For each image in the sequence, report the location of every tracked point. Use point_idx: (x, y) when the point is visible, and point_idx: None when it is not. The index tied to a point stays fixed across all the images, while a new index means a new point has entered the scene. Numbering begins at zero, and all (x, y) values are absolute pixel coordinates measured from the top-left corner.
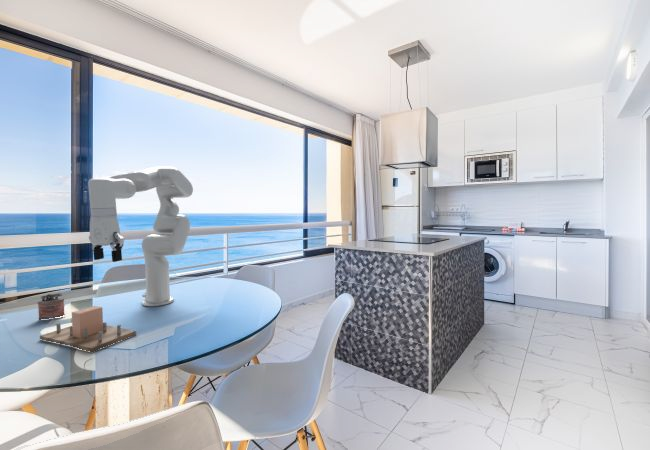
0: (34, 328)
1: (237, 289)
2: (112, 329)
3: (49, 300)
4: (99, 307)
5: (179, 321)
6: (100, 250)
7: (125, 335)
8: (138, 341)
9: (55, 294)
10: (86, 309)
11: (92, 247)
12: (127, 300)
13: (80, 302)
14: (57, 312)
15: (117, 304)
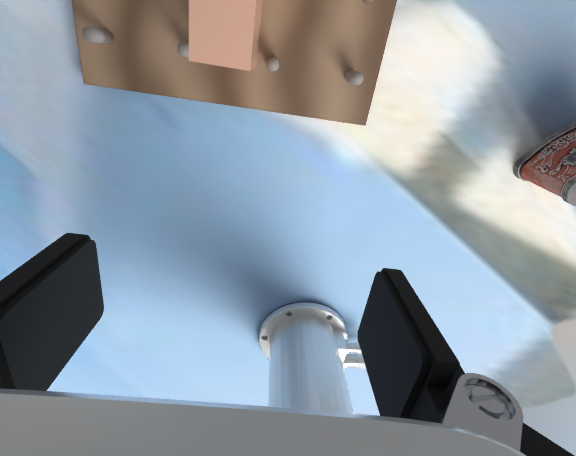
0: (537, 51)
1: None
2: (183, 75)
3: None
4: (199, 54)
5: (78, 220)
6: (389, 393)
7: (78, 36)
8: (21, 31)
9: None
10: (230, 4)
11: (506, 402)
12: None
13: (567, 290)
14: (543, 160)
15: (423, 299)
